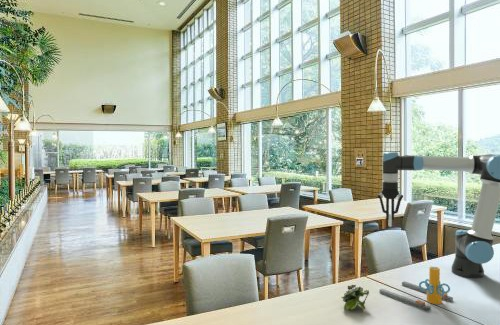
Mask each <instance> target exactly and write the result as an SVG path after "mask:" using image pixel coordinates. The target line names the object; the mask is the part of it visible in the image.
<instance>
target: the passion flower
mask: <svg viewBox="0 0 500 325" xmlns="http://www.w3.org/2000/svg"><path fill="white" fill-rule="evenodd" d="M356 286H357V284H351V285H347V291H346V292H344V294H343V296H341V299H342V302H344V305H343V310H344V311H348V310H350V311H351V310H352V311H353V310H354V309H356V307H358V306H360V307H361V308H362V311H364V310H365V309H366V306H365V304H366V300H367V298H368V296H369V294H370V291H369V289H366V290H364V288H363V287H361V286H359V287H358V286H357V287H356ZM364 296H365V298H364V300H363V301H361V300H360V298H361V297H362V298H363V297H364Z"/></svg>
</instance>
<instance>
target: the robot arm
mask: <svg viewBox="0 0 500 325" xmlns="http://www.w3.org/2000/svg"><path fill="white" fill-rule="evenodd" d="M423 170H424V171H425V170H427V171H445V172H446V171H447V172H449V171H450V172H468V173H469V174H470V175H471V174H473V175H478V176H479V175H480V178H479V179H480V181H481V184H482V185H481V189H480V193H479V196H478V200H477V205H476V207H475V208H476V209H475V213H474V216H473V220H472V225H471V229H469V230H468V229H467V230H465V229H458V230H456V231H455V236H454V237H455V243H454V244H455V250H454V251H455V252H454V253H455V254H454V255H455V256H454V259H453V263H452V265H451V273H453V274H454V275H458V276H460V277H464V278H472V279H476V278H483V277H485V270H484V267H483V264H487V263H489V262H490V261H492V259H493V258H494V254H495V252H494V247H493V244H494V240H495V239H494V236H492V232H493V229H494V224H495V221H496V220H495V219H496V216H497V213H498V208H499V205H500V154H492V153H491V154H481V155H469V157H466V156H442V155H441V156H435V155H410V154H409V155H408V154H406V155H405V154H404V155H399V152H398V151H395V152H394V151H393V152H392V151H388V152H386V151H385V152H383V154H382V181H383V182H382V190H381V192H380V193H378V194H376V195H377V198H378V199H379V203H380V207H381V210H382V213H384V214H385V219H386V221H387V222H388V223H387V224H388V227H390V228H391V227H392V226H393V225H392V224H393V222H392V221H394V220H395V214H398V213H399V209H400V205H401V202H402V199H403V198H404V195H403V194H401V193H400V192H399V183H398V181H399V171H423ZM383 197H384V198H385V203H386V204H385V205H386V206H384V201H383ZM397 198H398V199H397ZM395 199H397V201H396V202H397V203H396V206H395ZM390 200H391V201H390ZM390 202H391V205H390ZM390 206H391V208H390ZM390 209H391V210H390ZM390 211H391V212H390Z"/></svg>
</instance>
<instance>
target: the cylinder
mask: <svg viewBox="0 0 500 325" xmlns="http://www.w3.org/2000/svg"><path fill="white" fill-rule="evenodd" d="M440 270H441V269H440V267H437V266H429V272H428V273H429V274H428V276H429V278H426V279H425V280H421V281H420V282H419V283H418V284H419V285H418V286H419V287H420V289H421V290H424V291H426V290H427V294H426V301H427V302H428V303H430V304H432V305H441V304H442V303H443V299H442V296H443V295H444V293H447V294H448V293H449V292H450V291H451V286H449V284H447V283H441V279H440V274H441V271H440ZM422 284H424V285H425V288H426V289H423V288H424V287H423V288H422ZM443 286H445V287H447V290H446V291H445V289H444V287H443ZM441 292H442V293H441Z"/></svg>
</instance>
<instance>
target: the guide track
mask: <svg viewBox="0 0 500 325" xmlns="http://www.w3.org/2000/svg"><path fill="white" fill-rule="evenodd" d="M401 285H402V286H403V287H406V288H409V289H412V290H416V291H418V292H421V293H422V294H423V293H424V294H426V295H427V290H426V291H424V290H421V289H420V287H419V285H416V284H414V283H410V282H408V281H405V280H404V281H402V282H401ZM421 287H422V286H421ZM422 288H423V289H426V288H427V287H422ZM379 293H380V294H382V295H385V296H387V297H390V298H392V299H395V300H398V301H400V302H402V303H405V304H408V305H410V306H413V307H415V308H417V309H421V310H423V311H426V312H430V311H431V310H432V309H431V308H432V307H431V305H427V304H426V302H425V301H423V300H421V299H416V300H414V299H412V298H409V297H406V296H404V295H400V294H398V293H395V292H392V291H390V290H387V289H385V288H380V289H379ZM441 293H442V292H441ZM442 300H444V301H447V302H453V301H454V297H452V296H449V295H448V293H444V295H443V296H442Z"/></svg>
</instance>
